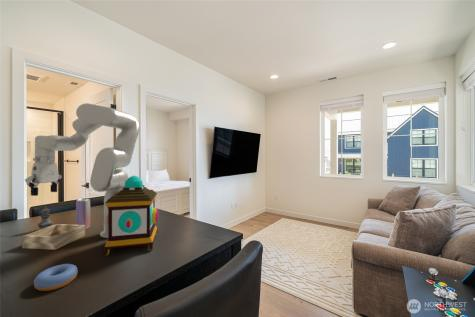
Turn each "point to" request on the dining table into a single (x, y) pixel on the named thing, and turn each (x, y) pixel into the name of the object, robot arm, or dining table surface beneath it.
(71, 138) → the robot arm
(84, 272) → the dining table surface
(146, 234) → the decorative lantern
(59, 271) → the doughnut
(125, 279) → the dining table surface
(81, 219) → the beverage can
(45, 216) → the salt shaker
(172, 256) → the dining table surface
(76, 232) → the box
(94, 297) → the dining table surface
